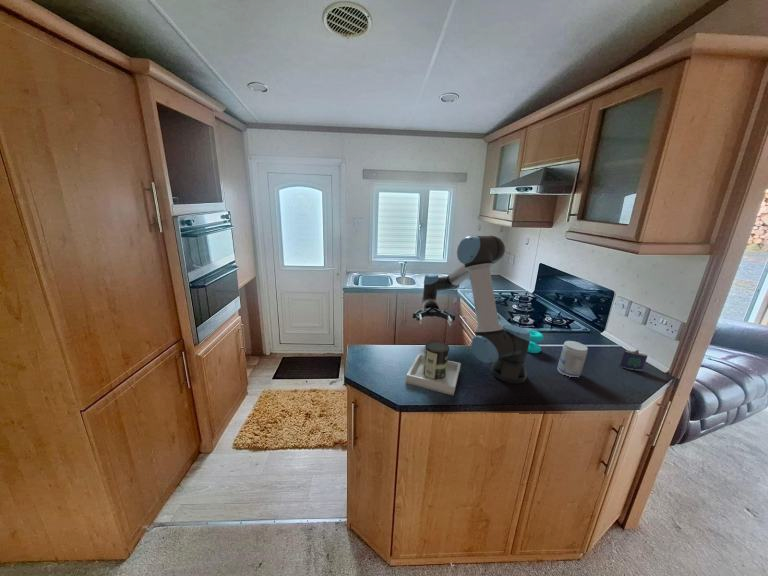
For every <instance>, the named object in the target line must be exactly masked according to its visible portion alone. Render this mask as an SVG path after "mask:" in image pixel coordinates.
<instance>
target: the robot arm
mask: <svg viewBox="0 0 768 576" xmlns="http://www.w3.org/2000/svg"><path fill="white" fill-rule="evenodd" d="M505 252H506V245H505V243H504V242H503V240H502V239H501V238H499V237H498V236H495V235H471V236H465V237H464V238H462V239H461V240H460V242H459V244H458V245H457V250H456V256H457V259H458V261H459V263H462V265H461V266H459V267H458V268H456V269H455V270H453V272H451V273H450V274H448V275H447V276H439V275H438V274H436V273H427V274H425V275H424V279H423V293H422V296H421V297H422V298H421V303H422V306H423V308H422V307H419V308H418V309H417V310H416V311H414V312H413V313H412V319H416V321H418V322H419V325H422V323H423V322H422V321H423V318H425V317H432V318H434V317H437V318H442V319H443V320H444V319H445V320H446V321H447V323H448V326H449V327H452V325H453V324H452V323H453V321H455V320H456V314H453V313H452V312H450V311H448V310H447V309H442V310H441V309H440V307H439V305H438V302H437V295H438V292H440V291H450V290H457V289H459V288H460V286H461V284H462V283H463V282H465V281H466V280H468V279H469V280H470V285H471V291H472V298H473V304H474V305H473V306H474V311H475V317H476V322H477V327H476V329H475V330H474V333H475V335H474V336H473V337H472V340H471V342H470V346H471V350H472V353H473V354H474V356H475V357H476V358H477V359H478V360H479V361H480V362H483V363H485V364H491V363H492V364H491V368H490V373H491V374H492V375H493V376H494V377H496V379H498V380H500V381H503V382H505V383H509V384H516V385H517V384H523V383H525V382H526V380H527V376H528V373H527V372H528V371H527V368H526V359H527V355H528V352H527V351H528V346H529V342H530V333H529V332H528V331H527V330H528V329H525V328H523V327H521V326H518V325H514V324H503V326H502V325H500V324H499V318H498V311H497V304H496V299H495V298H496V297H495V292H494V286H493V280H492V274H491V268H492V266H493V265H494V264H496V263H497V262H499V261H500V260H501V259H502V258H503V257H504V255H505Z"/></svg>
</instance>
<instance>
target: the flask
mask: <svg viewBox="0 0 768 576" xmlns="http://www.w3.org/2000/svg"><path fill="white" fill-rule="evenodd" d="M640 352H641V351H639V349H635V351H633V350H624V351H623V354H622V358H621V361H620V365H619V367H620V366H622V367H626V368H633V369H643V370H644V368H645V365H646V361H647V359H648V354H645V353H640Z"/></svg>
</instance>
